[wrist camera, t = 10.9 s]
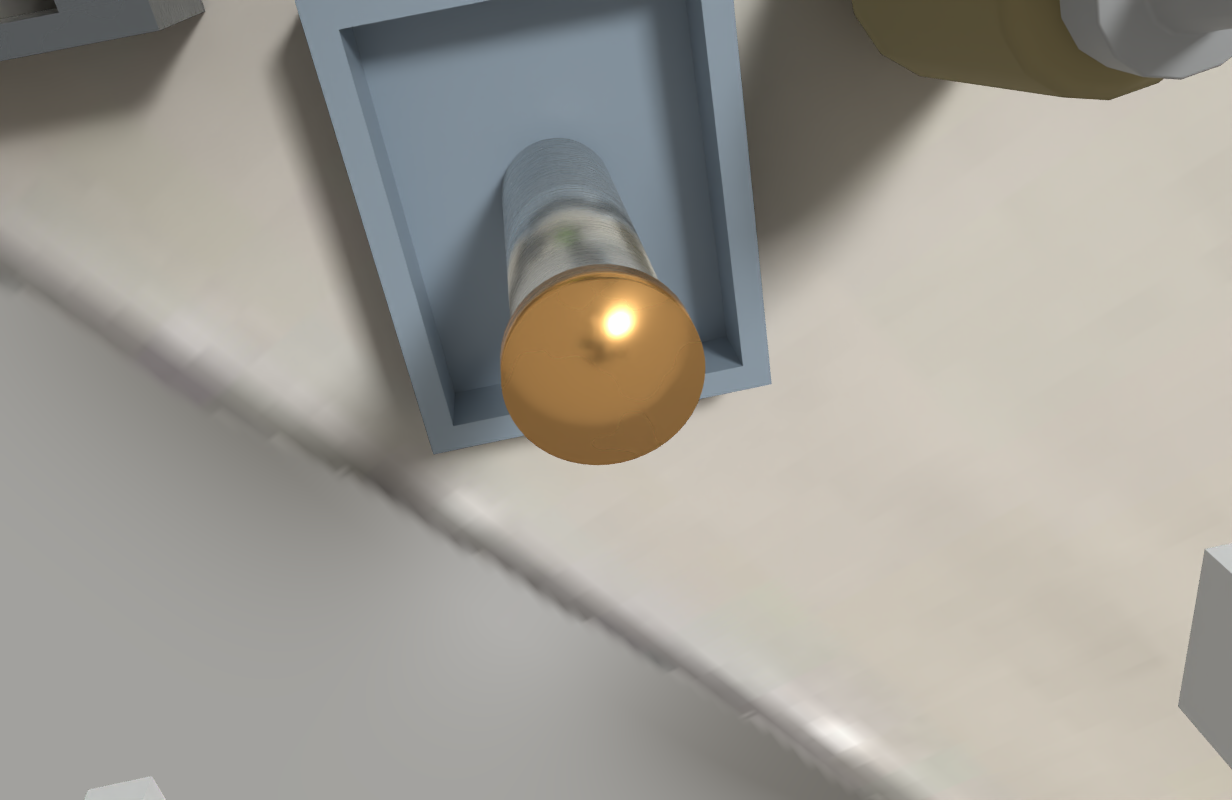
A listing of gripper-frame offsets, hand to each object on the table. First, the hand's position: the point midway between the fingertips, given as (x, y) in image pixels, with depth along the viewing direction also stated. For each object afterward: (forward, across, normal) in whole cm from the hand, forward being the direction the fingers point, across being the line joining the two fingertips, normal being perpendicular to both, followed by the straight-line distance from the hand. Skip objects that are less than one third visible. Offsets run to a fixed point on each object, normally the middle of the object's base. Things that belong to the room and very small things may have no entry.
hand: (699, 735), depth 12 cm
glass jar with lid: (+26, 0, 0) cm, 26 cm away
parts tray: (+26, 0, 0) cm, 26 cm away
